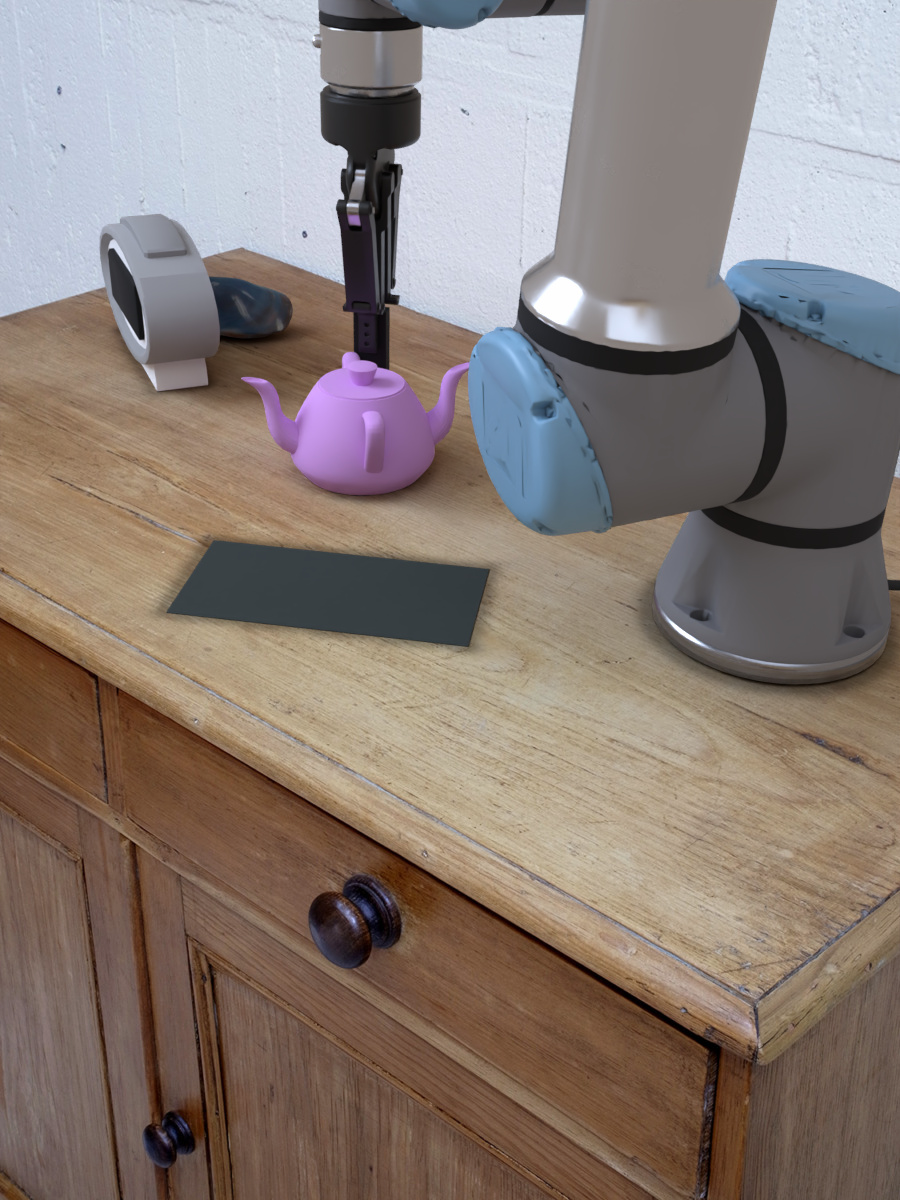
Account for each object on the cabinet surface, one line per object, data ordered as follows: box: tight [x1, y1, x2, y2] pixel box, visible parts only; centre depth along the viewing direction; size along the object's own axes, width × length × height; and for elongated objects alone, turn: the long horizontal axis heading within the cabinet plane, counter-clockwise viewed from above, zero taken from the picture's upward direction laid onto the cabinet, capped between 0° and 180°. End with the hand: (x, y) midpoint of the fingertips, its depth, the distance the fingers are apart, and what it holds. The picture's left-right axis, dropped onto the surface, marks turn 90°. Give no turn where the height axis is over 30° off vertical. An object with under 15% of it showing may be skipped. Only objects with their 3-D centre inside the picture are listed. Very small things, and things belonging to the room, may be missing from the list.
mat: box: [165, 539, 490, 648], centre depth 89 cm, size 20×10×1 cm, turn 81°
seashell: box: [208, 275, 294, 340], centre depth 130 cm, size 6×9×10 cm
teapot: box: [241, 351, 470, 496], centre depth 102 cm, size 12×14×9 cm
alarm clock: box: [98, 213, 221, 392], centre depth 121 cm, size 23×6×13 cm, turn 23°
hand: (371, 383), depth 110 cm, fingers closed
